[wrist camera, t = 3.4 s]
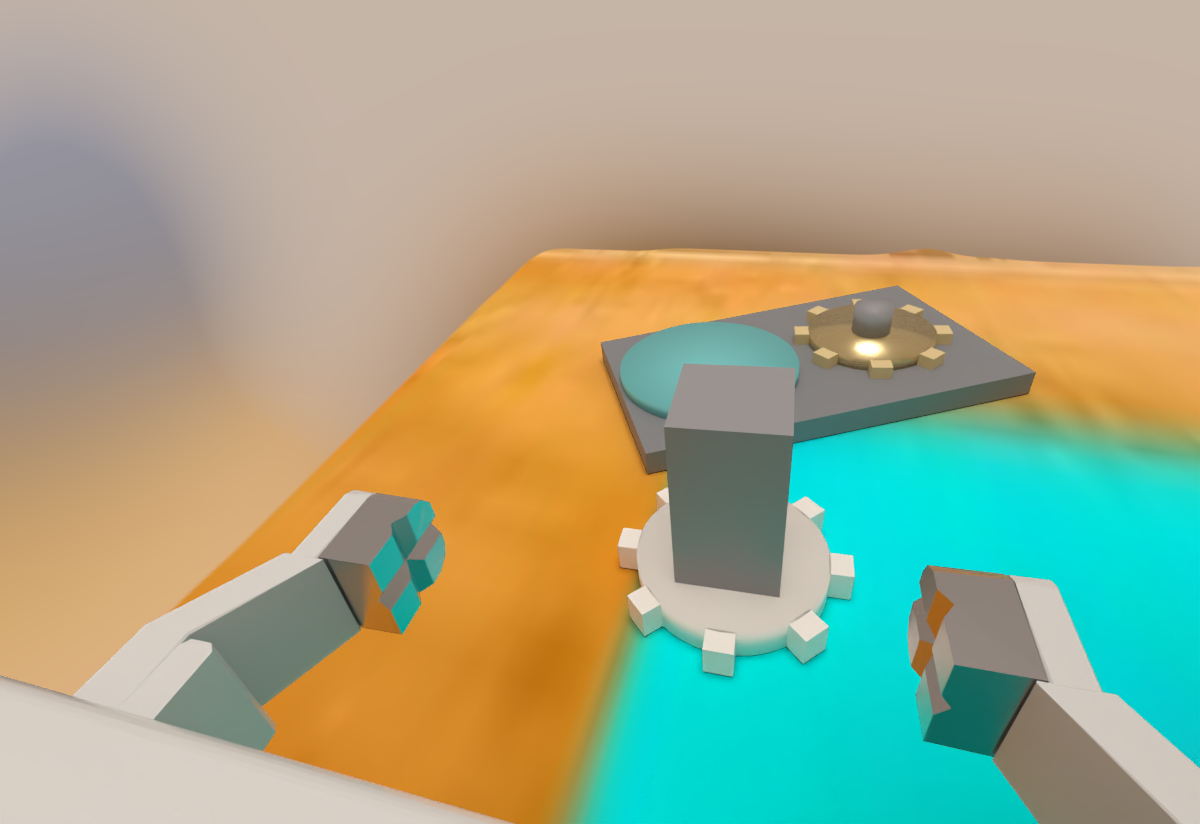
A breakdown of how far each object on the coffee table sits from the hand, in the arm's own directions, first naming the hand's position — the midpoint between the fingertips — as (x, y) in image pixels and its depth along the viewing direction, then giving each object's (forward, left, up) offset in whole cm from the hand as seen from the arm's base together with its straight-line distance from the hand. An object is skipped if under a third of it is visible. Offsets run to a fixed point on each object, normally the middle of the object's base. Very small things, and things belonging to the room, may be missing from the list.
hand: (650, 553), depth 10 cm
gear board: (-16, -26, -15) cm, 34 cm away
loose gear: (-6, -11, -15) cm, 19 cm away
